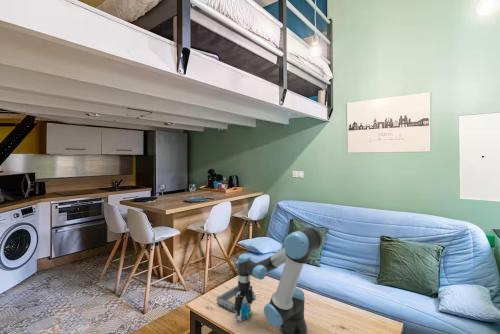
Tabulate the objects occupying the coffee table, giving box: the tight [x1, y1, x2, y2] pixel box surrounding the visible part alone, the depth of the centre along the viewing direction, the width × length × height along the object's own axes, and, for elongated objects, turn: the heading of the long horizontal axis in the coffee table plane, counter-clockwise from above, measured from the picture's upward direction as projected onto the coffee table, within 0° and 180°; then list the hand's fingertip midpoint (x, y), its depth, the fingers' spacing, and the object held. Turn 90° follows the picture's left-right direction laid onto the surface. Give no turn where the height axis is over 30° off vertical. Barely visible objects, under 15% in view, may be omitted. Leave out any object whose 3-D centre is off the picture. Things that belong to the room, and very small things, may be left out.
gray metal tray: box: [216, 284, 257, 314], centre depth 171 cm, size 17×23×4 cm
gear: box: [234, 302, 253, 321], centre depth 155 cm, size 11×6×10 cm
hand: (243, 316), depth 154 cm, fingers closed on gear, 8 cm apart
